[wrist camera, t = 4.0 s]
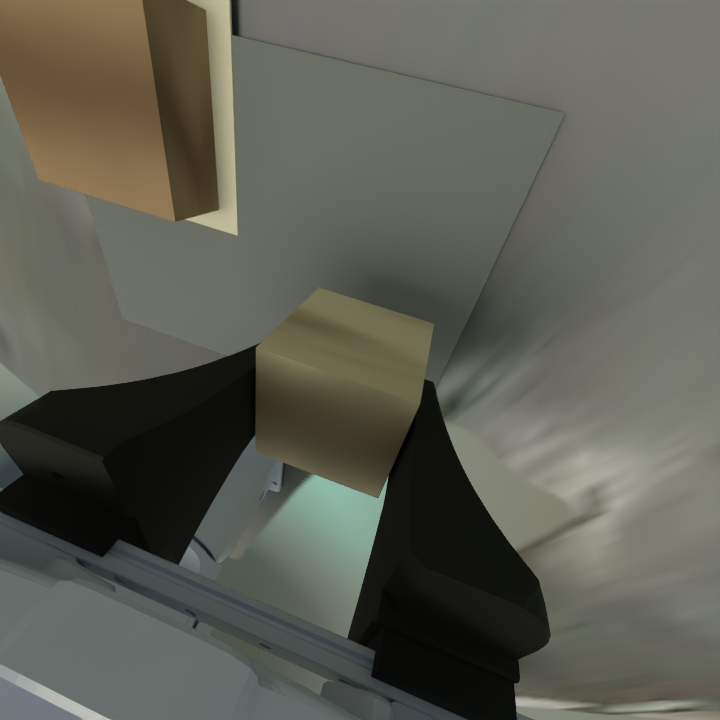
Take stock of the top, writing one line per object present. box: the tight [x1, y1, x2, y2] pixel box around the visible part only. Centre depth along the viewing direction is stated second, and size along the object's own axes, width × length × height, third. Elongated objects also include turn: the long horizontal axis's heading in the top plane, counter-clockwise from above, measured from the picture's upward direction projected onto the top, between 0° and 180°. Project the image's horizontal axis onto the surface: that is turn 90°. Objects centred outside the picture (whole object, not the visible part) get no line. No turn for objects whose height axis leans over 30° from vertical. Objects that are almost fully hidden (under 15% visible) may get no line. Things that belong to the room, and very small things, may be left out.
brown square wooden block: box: [0, 0, 219, 222], centre depth 13 cm, size 7×7×3 cm
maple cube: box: [255, 288, 434, 498], centre depth 11 cm, size 4×4×4 cm
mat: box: [86, 0, 565, 389], centre depth 16 cm, size 18×22×1 cm
